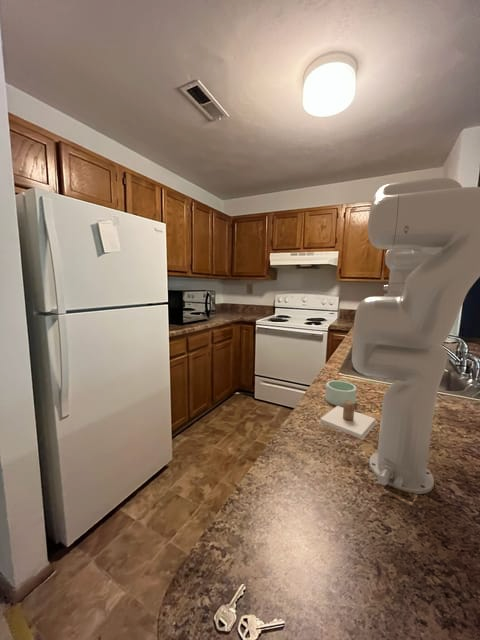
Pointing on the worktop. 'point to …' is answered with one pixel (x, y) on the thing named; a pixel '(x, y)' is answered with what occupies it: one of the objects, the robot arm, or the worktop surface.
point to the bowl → (340, 392)
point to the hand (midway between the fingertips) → (396, 345)
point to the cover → (348, 419)
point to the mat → (351, 434)
